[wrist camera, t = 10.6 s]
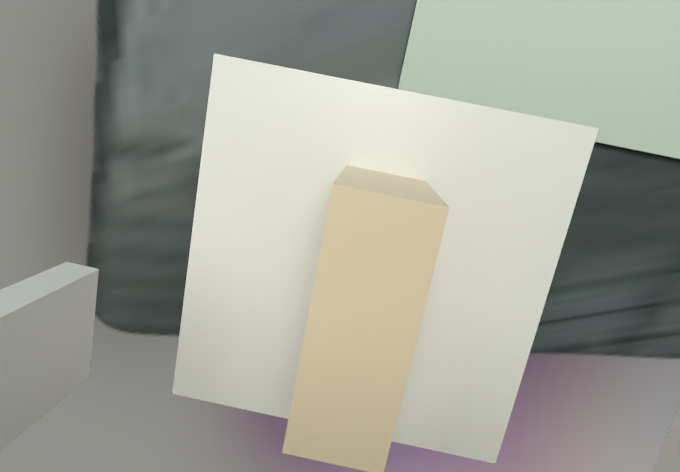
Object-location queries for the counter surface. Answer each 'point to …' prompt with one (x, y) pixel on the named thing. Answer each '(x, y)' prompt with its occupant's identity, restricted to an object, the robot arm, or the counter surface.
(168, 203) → the counter surface
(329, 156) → the board
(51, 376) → the robot arm
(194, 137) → the counter surface
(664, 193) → the counter surface
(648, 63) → the mat
